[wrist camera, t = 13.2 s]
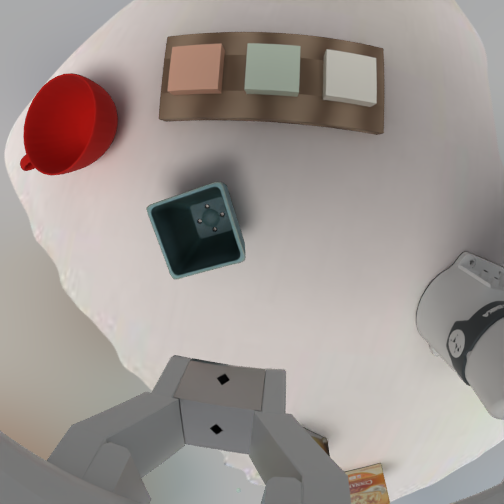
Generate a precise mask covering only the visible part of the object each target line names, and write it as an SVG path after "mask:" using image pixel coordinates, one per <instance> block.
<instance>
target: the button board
mask: <svg viewBox="0 0 504 504" xmlns="http://www.w3.org/2000/svg"><path fill="white" fill-rule="evenodd" d="M248 43H259V44H281V45H294V46H301V47H300V78H299V94H298V97H293V96H280V95H263V94H246V92H245V89H244V88H245V73H246V58H247V44H248ZM201 44H222V45H223V48H224V50H225V55H224V67H223V79H222V93H221V94H187V95H173V94H171V93H170V92H168V91H167V90H168V80H169V70H170V62H171V53H172V47H177V46H188V45H201ZM326 49H329V50H336V51H342V52H348V53H354V54H359V55H364V56H369V57H373V58H376V71H377V104H375V105H373V106H371V107H368V106H362V105H356V104H350V103H344V102H337V101H330V100H323V64H324V54H325V52H326ZM159 119H160V120H163V121H190V120H235V121H261V122H278V123H291V124H302V125H312V126H321V127H329V128H337V129H344V130H351V131H358V132H364V133H370V134H376V135H378V134H382V133H383V131H384V55H383V48H379V47H374V46H370V45H365V44H360V43H355V42H350V41H344V40H338V39H332V38H325V37H317V36H308V35H298V34H286V33H267V32H220V33H202V34H189V35H179V36H171V37H167V44H166V52H165V59H164V68H163V77H162V86H161V97H160V109H159Z"/></svg>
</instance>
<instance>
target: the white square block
mask: <svg viewBox="0 0 504 504" xmlns="http://www.w3.org/2000/svg"><path fill="white" fill-rule="evenodd" d="M323 100H330V101H337V102H344V103H350V104H356V105H362V106H368V107H371V106H373V105H375V104H377V71H376V58H373V57H369V56H364V55H359V54H354V53H348V52H342V51H336V50H329V49H326V52H325V54H324V64H323Z"/></svg>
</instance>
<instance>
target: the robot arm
mask: <svg viewBox="0 0 504 504" xmlns="http://www.w3.org/2000/svg"><path fill="white" fill-rule="evenodd" d="M470 261H471V263H470ZM416 321H417V328H418V331H419V333H420V335H421V336H422V337H423V338H424V339H425V340H426V341H427V342H428V343H429V346H430V350H431V352H432V353H433V354H434V355H435V356H440V357H441V358H442V359H443V360H444V361H445V362H446V363H447V364H448V365H449V366H450V368H451V369H452V370H453V371H455V372H457V373H458V376H459V377H460V378H461V379H462V380H463V381H464V382H465V383H466V384H467V385H469V386H471V387H472V389H473V390H474V392H475V393H476V395H477V396H478V398H479V399H480V401H481V402H482V404H483V405H484V407H485V408H486V410H487V411H488V413H489V414H490V415H491V416H492V417H494V418H497V419H504V268H503V267H501V266H499V265H497V264H494V263H492V262H490V261H488V260H485V259H483V258H481V257H478V256H476V255H474V254H471V253H469V252H464V253H462V254H461V255H460V256H459V258H458V259H457V260H456V262H455V263H454V264H453V265H452V266H451V267H450V268H449V269H447V270H446V271H444V272H443V273H441V274H440V275H439V276H438V277H436V278H435V279H434V280H433V282H432V283H431V284H430V285H429V286H428V288H427V289H426V291H425V293H424V294H423V296H422V298H421V301H420V303H419V306H418V310H417V318H416ZM285 409H286V371H285V370H282V369H267V368H266V371H265V369H262V368H252V367H243V366H235V365H228V364H222V363H216V362H210V361H204V360H199V359H193V358H192V359H191V358H187V357H182V356H177V355H174V356H173V357H171V358H170V360H169V362H168V364H167V366H166V367H165V369H164V371H163V373H162V375H161V376H160V378H159V380H158V382H157V384H156V385H155V387H154V389H153V391H152V393H149V392H144V393H142V394H140V395H138V396H136V397H134V398H132V399H130V400H128V401H126V402H123V403H121V404H119V405H117V406H115V407H112V408H110V409H108V410H106V411H104V412H101V413H99V414H97V415H94V416H92V417H90V418H88V419H85V420H83V421H80V422H78V423H76V424H73V425H72V426H71V427H70V428H69V430H68V431H67V433H66V434H65V435H64V437H63V438H62V440H61V441H60V443H59V444H58V445H57V447H56V448H55V450H54V451H53V452H52V454H51V455H50V457H49V458H48V460H47V461H46V460H44V459H43V458H41V457H39V456H37V455H36V454H34V453H33V452H31V451H29V450H28V449H26V448H24V447H23V446H22V445H20V444H18V443H17V442H16V441H14V440H12V439H11V438H10V437H8V436H7V435H6V434H4V433H3V432H1V431H0V504H150V501H151V498H150V496H149V493H148V491H147V489H146V487H145V485H144V483H143V481H142V479H141V478H142V477H144V476H145V475H147V474H148V473H149V472H151V471H152V470H153V469H155V468H156V467H158V466H159V465H160V464H162V463H163V462H164V461H166V460H167V459H168V458H170V457H171V456H172V455H173V454H175V453H176V452H177V451H179V450H180V449H181V448H182V447H184V446H185V444H188V445H194V446H200V447H206V448H213V449H219V450H224V451H230V452H237V453H243V454H249V456H250V458H251V460H252V462H253V464H254V465H255V467H256V469H257V471H258V473H259V474H260V476H261V478H262V480H263V481H264V483H265V485H266V487H265V490H264V494H263V498H262V501H261V504H351V497H350V489H349V481H348V475H347V474H346V473H345V472H344V471H343V470H342V469H341V468H340V467H339V466H338V465H337V464H336V463H335V462H334V461H333V460H332V459H331V458H330V457H329V456H328V454H327V453H326V452H325V451H324V450H323V449H322V448H321V447H320V446H319V445H318V444H317V443H316V441H315V440H314V439H313V438H312V437H311V436H310V435H309V434H308V433H307V431H306V430H305V429H304V428H303V427H302V426H301V425H300V423H299V422H298V421H297V420H296V419H295V418H294V417H293V415H292V414H285ZM451 504H504V479H503V480H502V482H501V483H500V484H498V485H496V486H494V487H492V488H490V489H487V490H485V491H482V492H480V493H478V494H475V495H473V496H470V497H467V498H465V499H462V500H459V501H456V502H453V503H451Z"/></svg>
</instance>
